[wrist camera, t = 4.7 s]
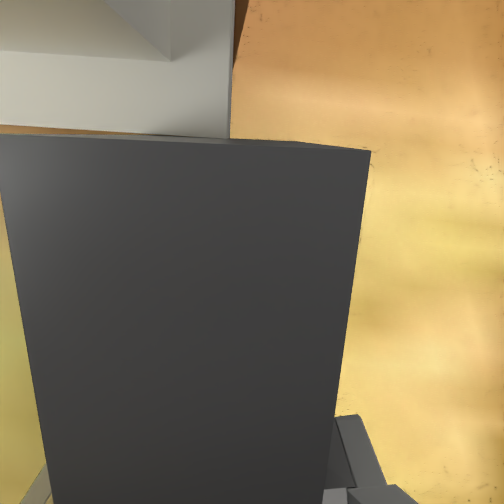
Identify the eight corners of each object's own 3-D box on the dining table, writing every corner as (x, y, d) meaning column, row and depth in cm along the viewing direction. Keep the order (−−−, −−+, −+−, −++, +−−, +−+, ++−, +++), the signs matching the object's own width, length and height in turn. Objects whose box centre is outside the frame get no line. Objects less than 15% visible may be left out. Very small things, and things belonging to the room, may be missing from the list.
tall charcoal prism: (264, 562, 12) (272, 860, 7) (170, 560, 12) (113, 857, 7) (296, 141, 8) (371, 151, 3) (154, 135, 8) (-10, 133, 3)
